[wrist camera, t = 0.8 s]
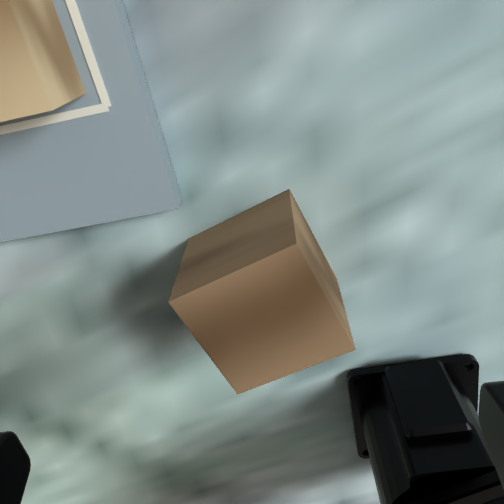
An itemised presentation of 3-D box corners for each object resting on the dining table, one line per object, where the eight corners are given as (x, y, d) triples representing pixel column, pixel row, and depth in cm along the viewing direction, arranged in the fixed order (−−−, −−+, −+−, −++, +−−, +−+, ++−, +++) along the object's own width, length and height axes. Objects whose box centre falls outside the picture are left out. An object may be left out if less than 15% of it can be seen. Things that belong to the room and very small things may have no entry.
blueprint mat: (181, 199, 19) (177, 209, 18) (-31, 240, 21) (-45, 251, 20) (72, -163, 14) (59, -176, 13) (-212, -79, 15) (-243, -85, 14)
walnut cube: (336, 278, 21) (355, 349, 17) (242, 318, 22) (237, 394, 18) (289, 188, 19) (296, 243, 15) (188, 237, 20) (168, 302, 16)
